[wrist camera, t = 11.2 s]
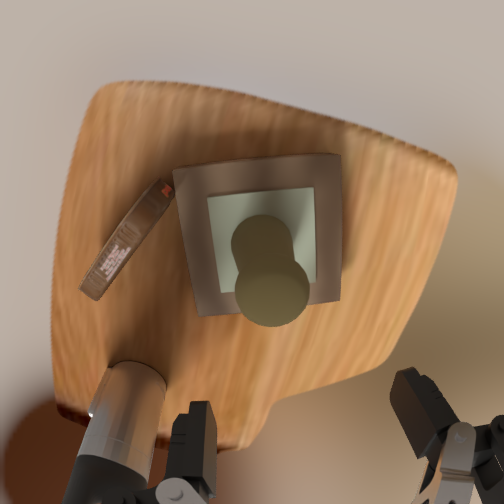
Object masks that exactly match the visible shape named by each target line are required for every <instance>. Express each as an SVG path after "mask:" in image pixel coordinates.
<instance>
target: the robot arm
mask: <svg viewBox="0 0 504 504" xmlns="http://www.w3.org/2000/svg"><path fill="white" fill-rule="evenodd" d="M165 393H166V383H165V381H164V379H163V378H162V377H161V375H160V374H159V373H157V372H156V371H155V370H154V369H152V368H150V367H149V366H147V365H144V364H142V363H138V362H133V361H124V362H120V363H117V364H116V365H115V366H114V367H112V368H107V369H106V371H105V373H104V375H103V377H102V380H101V382H100V384H99V386H98V388H97V391H96V393H95V395H94V398H93V400H92V402H91V405H90V407H89V409H88V414H89V415H90V417H91V420H90V423H89V425H88V428H87V431H86V433H85V436H84V439H83V441H82V444H81V447H80V450H79V452H78V455H77V458H76V461H75V464H74V467H73V470H72V474H71V477H70V480H69V483H68V486H67V489H66V492H65V495H64V498H63V501H62V503H61V504H97V503H101V504H209V498H216V459H217V458H216V457H217V425H216V421H215V417H214V414H213V411H212V408H211V405H210V402H209V401H191V402H190V406H189V414H179V415H178V417H177V418H176V420H175V421H174V423H173V426H172V433H171V434H172V436H171V439H170V446H169V453H168V459H167V466H166V473H165V477H164V479H163V480H162V481H161V483H160V484H158V485H157V486H155V487H153V488H150V489H147V484H148V478H149V471H150V467H151V461H152V456H153V450H154V445H155V440H156V435H157V430H158V426H159V421H160V416H161V412H162V407H163V402H164V399H165ZM390 402H391V405H392V407H393V409H394V411H395V413H396V415H397V417H398V419H399V421H400V423H401V426H402V427H403V429H404V431H405V434H406V436H407V438H408V440H409V442H410V444H411V446H412V448H413V450H414V453H415V455H416V457H417V459H419V458H422V457H424V456H426V457H427V459H428V460H427V462H426V465H425V468H424V471H423V475H422V478H421V481H420V484H419V487H418V490H417V493H416V495H415V498H414V499H413V501H412V502H411V504H469V503H470V498H471V495H472V490H473V485H474V484H475V486H476V489H477V491H478V494H479V496H480V498H481V501H482V504H504V415H499V416H496V417H495V418H494V419H493V420H492V422H491V423H490V424H487V425H482V426H476V427H473V426H472V425H471V424H469V423H467V422H461V421H460V420H459V419H458V418H457V416H456V415H455V413H454V411H453V410H452V408H451V407H450V405H449V404H448V402H447V401H446V399H445V398H444V397H443V395H442V393H441V392H440V391H439V389H438V387H437V386H436V384H435V383H434V381H433V380H431V379H430V378H429V377H427V376H426V375H422V376H420V374H419V373H418V371H417V370H416V369H415V368H414V367H410V368H407V369H404V370H400V371H398V372H397V373H396V375H395V379H394V382H393V385H392V388H391V392H390ZM495 456H496V457H495ZM496 458H497V459H496ZM497 460H498V461H497ZM498 462H499V463H498ZM499 464H500V465H499ZM500 466H501V467H500ZM501 468H502V469H501ZM502 470H503V471H502Z"/></svg>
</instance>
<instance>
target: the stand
mask: <svg viewBox="0 0 504 504" xmlns="http://www.w3.org/2000/svg"><path fill="white" fill-rule="evenodd" d="M172 173H173V180H174V187H175V194H176V201H177V207H178V213H179V219H180V225H181V231H182V237H183V242H184V248H185V253H186V258H187V264H188V269H189V274H190V279H191V284H192V289H193V294H194V298H195V303H196V308H197V312H198V317H202V316H214V315H225V314H236V313H242V312H241V310H240V308H239V306H238V304H237V302H236V300H235V283H236V280H237V276H238V274H239V272H238V269H237V266H236V263H235V260H234V257H233V254H232V251H231V239H232V235H233V232H234V231H235V229H236V228H237V226H238V225H239V224H240V223H241V222H242V221H244V220H245V219H246V218H249V217H252V216H254V215H270V216H273V217H276V218H278V219H279V220H281V221H282V222H284V224H285V225H286V226H287V228H288V229H289V231H290V234H291V237H292V241H293V249H294V256H295V261H296V262H298V263H299V264H300V266H301V267H302V268H303V269H304V271H305V272H306V274H307V277H308V280H309V283H310V294H309V300H308V303H307V305H313V304H320V303H327V302H334V301H340V292H341V269H342V178H341V155H338V154H333V153H315V154H296V155H281V156H268V157H257V158H246V159H236V160H227V161H219V162H211V163H203V164H196V165H189V166H182V167H178V168H176V169H174V170H172Z"/></svg>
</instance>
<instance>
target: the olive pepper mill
mask: <svg viewBox="0 0 504 504" xmlns="http://www.w3.org/2000/svg"><path fill="white" fill-rule="evenodd" d="M231 251H232V254H233V257H234V260H235V263H236V266H237V269H238V272H239V274H238V276H237V280H236V283H235V300H236V302H237V304H238V306H239V308H240V310H241V312H242V313H243V314H244V315H245V316H246V317H247V318H248V319H249V320H250V321H252V322H254V323H256V324H258V325H261V326H267V327H277V326H282V325H285V324H288V323H290V322H291V321H293V320H294V319H296V318H297V317H298V316H299V315H300V314H301V313H302V311H303V310H304V309H305V308H306V305H307V303H308V300H309V294H310V283H309V280H308V277H307V274H306V272H305V271H304V269H303V268H302V267H301V266H300V264H299V263H298V262H296V261H295V256H294V249H293V241H292V237H291V234H290V231H289V229H288V228H287V226H286V225H285V224H284V222H282V221H281V220H279V219H278V218H276V217H273V216H270V215H254V216H252V217H249V218H246V219H245V220H244V221H242V222H241V223H240V224H239V225H238V226H237V228H236V229H235V231H234V232H233V235H232V239H231Z"/></svg>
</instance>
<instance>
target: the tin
mask: <svg viewBox="0 0 504 504" xmlns="http://www.w3.org/2000/svg"><path fill="white" fill-rule="evenodd" d="M174 196H175V191H174V190H173V189H172V188H171V187H170V186H168V185H167V184H166V183H165V182H163V181H162V180H161V178H160V177H158V178H157V179H156V180H154V182H153V183H152V184H151V185H150V186H149V187H148V188H147V189H146V190H145V191H144V193H143V194H142V195H141V196H140V197H139V199H138V200H137V201H136V203H135V204H134V205H133V206H132V207H131V209H130V210H129V211H128V213H127V214H126V215H125V217H124V218H123V220H122V221H121V222H120V224H119V225H118V226H117V228H116V229H115V231H114V232H113V234H112V235H111V237H110V238H109V239H108V241H107V242H106V244H105V245H104V247H103V248H102V250H101V251H100V253H99V254H98V256H97V258H96V259H95V261H94V262H93V264H92V265H91V267H90V269H89V270H88V272H87V273H86V275H85V276H84V278H83V280H82V281H81V283H80V285H79V287H78V290H81V291H82V292H83V293H85V294H86V295H87V296H89V297H90V298H91V299H93V300H95V301H98V300H99V299H100V298H101V297H102V295H103V294H104V293H105V291H106V290H107V289H108V287H109V286H110V284H111V283H112V282H113V280H114V279H115V278H116V276H117V275H118V273H119V272H120V271H121V269H122V268H123V267H124V265H125V264H126V263H127V261H128V260H129V259H130V257H131V256H132V255H133V253H134V252H135V250H136V249H137V248H138V246H139V245H140V244H141V242H142V241H143V240H144V238H145V237H146V236H147V234H148V233H149V232H150V231H151V229H152V228H153V227H154V225H155V224H156V223H157V221H158V220H159V219H160V217H161V216H162V214H163V213H164V212H165V210H166V209H167V207H168V206H169V204H170V202H171V200H172V199H173V198H174Z"/></svg>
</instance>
